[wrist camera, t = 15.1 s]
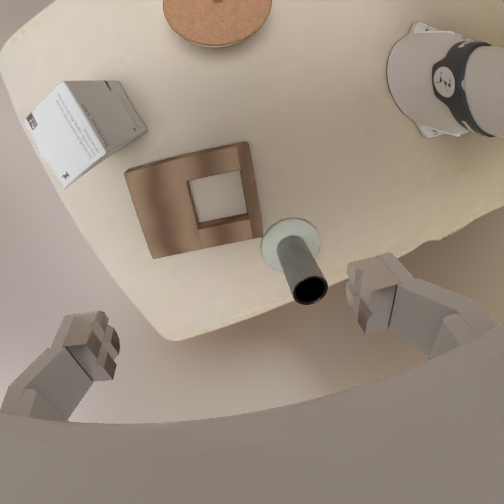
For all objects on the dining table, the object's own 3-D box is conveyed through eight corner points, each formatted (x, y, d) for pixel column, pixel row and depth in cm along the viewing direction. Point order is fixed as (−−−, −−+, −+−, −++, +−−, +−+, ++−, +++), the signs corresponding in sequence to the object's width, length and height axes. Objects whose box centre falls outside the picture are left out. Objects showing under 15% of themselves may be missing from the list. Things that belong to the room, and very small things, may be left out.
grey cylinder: (281, 265, 46) (298, 310, 37) (272, 241, 44) (288, 284, 35) (309, 254, 46) (331, 297, 37) (301, 230, 43) (324, 270, 35)
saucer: (317, 213, 43) (318, 215, 42) (319, 263, 48) (320, 265, 47) (256, 224, 43) (257, 227, 42) (265, 274, 48) (265, 277, 47)
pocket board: (246, 141, 37) (248, 144, 35) (261, 229, 43) (263, 236, 42) (127, 169, 36) (123, 173, 34) (154, 251, 43) (152, 259, 41)
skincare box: (148, 129, 34) (113, 156, 21) (112, 154, 35) (64, 194, 22) (116, 78, 30) (64, 77, 17) (80, 105, 30) (18, 122, 18)
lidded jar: (172, 57, 30) (159, 47, 22) (172, -16, 24) (162, -43, 16) (260, 53, 31) (276, 42, 23) (259, -19, 25) (274, -47, 17)
